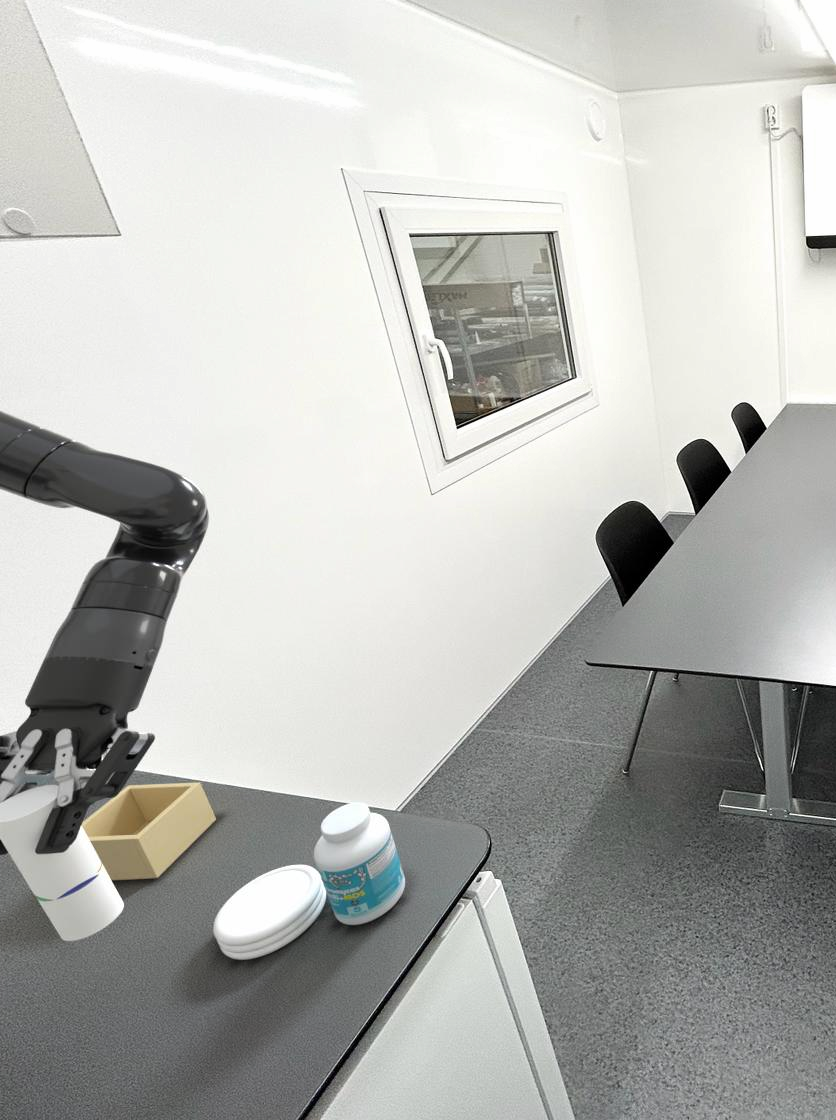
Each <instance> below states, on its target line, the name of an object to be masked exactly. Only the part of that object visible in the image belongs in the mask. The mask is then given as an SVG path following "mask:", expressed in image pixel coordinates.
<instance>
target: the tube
mask: <svg viewBox="0 0 836 1120" xmlns="http://www.w3.org/2000/svg"><path fill="white" fill-rule="evenodd" d="M58 786H59V785H57V784H44V785H43V786H40V787H36V788H32V789H29V790H26V791H24V792H21V793H19V794H17V795H15V796H13V797H11V798H9V799H7V800H5V801H4V802H2V803H0V839H1V841H2V843H3V844H4V846H5V848H6V849H7V851H8V853H7V854H9V856H10V858H11V859H12V861H13V862H14V864H15V866H16V868H17V869H18V870H19V872H20V874H21V875H22V877H23V878H24V880H25V882H26V884H27V885H28V887H29V889H30V890H31V892H32V894H33V895H34V896H35V898H36V900H37V901H38V903H39V904H40V906H41V908H42V909H43V911H44V912H45V914H46V916H47V917H48V920H49V921H50V923H51V924H52V926H53V927H54V929H55V931H56V932H57V934H58V935H59V937H60V938H61V940H63V941H65V942H75V941H80V940H83V939H86V938H88V937H91V936H92V935H95V934H97V933H98V932H100V931H102V930H103V929H105V928H107V926H109V925H110V924H112V923H113V922H114V921H115V920H116V919H117V918H118V917H119V916H120V915H121V913H122V912H123V910H124V907H125V903H124V901H123V899H122V897H121V895H120V894H119V892H118V890H117V888H116V886H115V885H114V883H113V880H111V879H110V877H109V875H108V873H107V872H106V870H105V868H104V866H103V864H102V863H101V861H100V859H99V857H98V855H97V853H96V851H95V849H94V848H93V846H92V844H91V842H90V840H89V838H88V837H87V835H86V833H85V831H84V829H83V827H82V826H80V827H81V828H80V830H79V831H78V832H79V833H78V835H77V838H76V840H75V841H74V842H73V844H72V845H70V846H69V848H68V849H67V850H66V851H65V852H63V853H52V854H36V853H35V849H36V846H37V844H38V841H39V839H40V836H41V834H42V832H43V829H44V827H45V824H46V822H47V819H48V817H49V814H50V812H51V811H52V808H59V806H58V805H57V795H58Z"/></svg>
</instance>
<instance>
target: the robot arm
mask: <svg viewBox="0 0 836 1120" xmlns="http://www.w3.org/2000/svg"><path fill="white" fill-rule="evenodd" d="M0 490H1V491H4V492H7V493H10V494H12V495H16V496H18V497H21V498H24V499H26V500H30V501H32V502H36V503H38V504H42V505H45V506H49V507H52V508H58V509H72V508H79V509H81V510H85V511H88V512H91V513H93V514H97V515H101V516H103V517H106V518H109V519H111V520H113V521H115V522H118V523H119V526H118V530H117V533H116V535H115V537H114V539H113V541H112V544H111V546H109V547H110V548H109V550H108V551H107V554H106V555H105V557H104V558H103V559H100V560H99V561H97V562H95V563H93V565H92V567H91V568H90V569H89V571H88V572H87V574H86V575H85V578H83V579H84V580H83V582H82V583H81V585H80V588H79V590H78V592H77V594H76V596H75V599H74V601H73V603H72V606H71V608H70V611H69V612H68V614H67V615H66V617H65V618H64V620H63V622H62V623H61V625H60V626H59V628H58V629H57V631H56V632H55V634H54V636H53V638H52V641H51V643H50V645H49V647H48V650H47V652H46V654H45V656H44V658H43V660H42V663H41V665H40V667H39V670H38V672H37V674H36V676H35V678H34V681H33V683H32V686H31V687H30V688H29V689H30V690H29V692H28V694H27V695H26V698H25V700H24V704H25V706H26V707H27V708H29V710H30V713H29V715H28V717H27V718H26V719H25V720H24V722H23V723H21V724H20V726H19V727H17V730H16V731H12V732H10V733H5V734H2V735H0V803H2V802H4V801H5V800H7V799H9V798H11V797H13V796H15V795H17V794H19V793H21V792H24V791H26V790H29V789H32V788H36V787H40V786H45V785H46V784H48V783H50V782H51V781H52V780H53V779H54V780H55V782H56V783H58V785H57V786H58V795H57V805H58V806H59V808H52V811H51V812H50V814H49V817H48V819H47V822H46V824H45V827H44V829H43V832H42V834H41V836H40V839H39V841H38V844H37V846H36V849H35V853H36V854H52V853H63V852H65V851H66V850H67V849H68V848H69V846H70V845H72V844H73V842H74V841H75V840H76V838H77V835H78V833H79V832H78V831H79V830H80V828H81V827H80V826H81V825H82V822H83V821H85V818H86V815H87V812H88V809H89V808H90V807H91V806H92V805H93V806H94V804H95V803H96V802H99V801H102V800H105V799H112V798H113V797H116V796H117V795H118V794H119V793H120V792H121V791H122V790H123V789H124V788H125V786H126V784H127V782H128V781H129V779H130V778H131V776H132V775H133V773H134V772H135V771H136V769H137V767H138V766H139V764H140V763H141V761H143V758H144V757H145V755H146V754H147V753H148V751H149V749H150V748H151V746H152V745H153V743H154V742H155V739H156V736H155V734H154V733H152V732H151V733H150V732H145V731H137V730H132V729H129V723H128V715H129V713H132V712H134V711H136V710H137V709H138V708H139V706H140V703H141V700H142V699H143V695H144V692H145V690H146V687H147V684H148V682H149V680H150V677H151V674H152V672H153V669H154V667H155V664H156V661H157V659H158V656H159V653H160V650H161V648H162V646H163V643H164V642H163V641H164V637H165V631H166V627H167V624H168V622H169V621H168V620H169V618H170V615H171V613H172V610H173V607H174V605H175V602H176V600H177V597H178V594H179V592H180V587H181V584H182V580H183V577H184V576H185V574H186V573H187V571H188V570H189V568H190V566H191V564H192V563H193V561H194V559H195V557H196V555H197V553H198V552H199V550H200V547H201V545H202V544H203V541H204V539H205V536H206V534H207V531H208V527H209V523H210V514H209V510H208V505H207V504H208V503H207V499H206V495H205V494H204V492H203V490H202V489H201V488H200V487H199V486H198V485H197V484H196V483H195V482H194V481H192V480H191V479H190V478H188V477H187V476H184V475H182V474H180V473H178V472H176V471H173V470H171V469H169V468H166V467H163V466H161V465H157V464H154V463H151V462H147V461H143V460H140V459H136V458H133V457H128V456H125V455H120V454H116V453H111V452H107V451H102V450H98V449H96V448H93V447H91V446H88V445H87V444H84V443H82V442H80V441H77V440H75V439H72V438H70V437H67V436H65V435H62V434H60V433H58V432H54V431H52V430H49V429H47V428H44V427H42V426H39V425H37V424H34V423H32V422H30V421H27V420H24V419H21V418H20V417H17V416H14V415H12V414H9V413H7V412H5V411H2V410H0ZM21 785H22V787H21V788H20V789H19V790H18V788H19V787H20V786H21ZM17 790H18V791H17ZM8 854H9V853H8V851H7V849H6V848H5V846H4V844H3V843H2V841H1V839H0V856H5V855H8Z"/></svg>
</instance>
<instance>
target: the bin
mask: <svg viewBox="0 0 836 1120" xmlns="http://www.w3.org/2000/svg"><path fill="white" fill-rule="evenodd" d="M216 820H217V818H216V815H215V813H214V811H213V809H212V807H211V804H210V802H209V799H208V798H207V795H206V793H205V790H204V788H203V786H202V783H201V782H179V783H155V784H131V785H130V784H129V785H127V786H126V787H124V788H122V790H121V791H120V793H119V794H118V795H117V796H116V797H113V798H110V800H108V801H107V802H106V803H104V804H103V805H102V806H100V807H99V808H98V809H97V810H95V812H93V813H92V814H91V815H89V816H88V817H87V818H86V819H84V820H83V822H82V825H81V826H82V827H83V829H84V831H85V833H86V835H87V837H88V838H89V840H90V842H91V844H92V846H93V848H94V849H95V851H96V853H97V855H98V857H99V859H100V861H101V863H102V864H103V866H104V868H105V870H106V872H107V873H108V875H109V877H110V879H111V881H125V880H145V879H147V880H149V879H158V878H159V877H160V876H161V875H162V874H163V873H164V872H165V871H166V870H167V869H168V868H169V867H170V866H171V865H172V864H173V863H174V862H175V861H176V860H177V859H178V858H179V857H180V856H181V855H182V854H183V853H184V852H185V851H186V850H187V849H188V848H189V847H190V846H191V845H192V844H193V843H194V842H195V841H196V840H198V839H199V838H200V836H201V835H202V834H203V833H204V832H205V831H206V830H208V828H209V827H210V826H212V825H213V823H214V822H215V821H216Z"/></svg>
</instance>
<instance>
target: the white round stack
mask: <svg viewBox="0 0 836 1120" xmlns="http://www.w3.org/2000/svg"><path fill="white" fill-rule="evenodd" d="M326 901H327V892H326V889H325V887H324V884H323V881H322V879H321V876H320V873H319V870H318V869H316V868H315V867H313V866H311V865H308V864H307V865H306V864H291V865H286V866H282V867H279V868H275V869H272V870H270V871H268V872H266V873H263V874H261V875H259V876H257V877H255V878H254V879H253V880H251V881H249V882H248V883H246V884H245V885H244V886H242V887H241V888H239V889H238V890H237V891H235V892H234V894H233V895H232V896H230V898H228V900H226V902H225V903H224V904H223V905H222V907H221V908H220V909H219V911H218V912H217V914H216V916H215V918H214V922H213V925H212V927H213V928H212V933H213V936H214V938H215V939H216V942H217V944H218V945H219V949H220V950H221V952H222V953H223V955H225V956H227V957H229V958H231V959H233V960H238V961H243V960H244V961H245V960H253V959H257V958H260V957H264V956H266V955H269V954H271V953H274V952H275V951H277V950H279V949H281V948H283V947H285V946H286V945H288V944H289V943H291V942H292V941H294V940H295V939H297V938H298V937H300V935H302V934H303V933H304V932H305V931H306V930H307V929H308V928H309V927H311V926H312V924H313V923H314V922H315V921H316V920H317V919H318V918H319V916H320V914H321V912H322V911H323V909H324V907H325V904H326Z"/></svg>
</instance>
